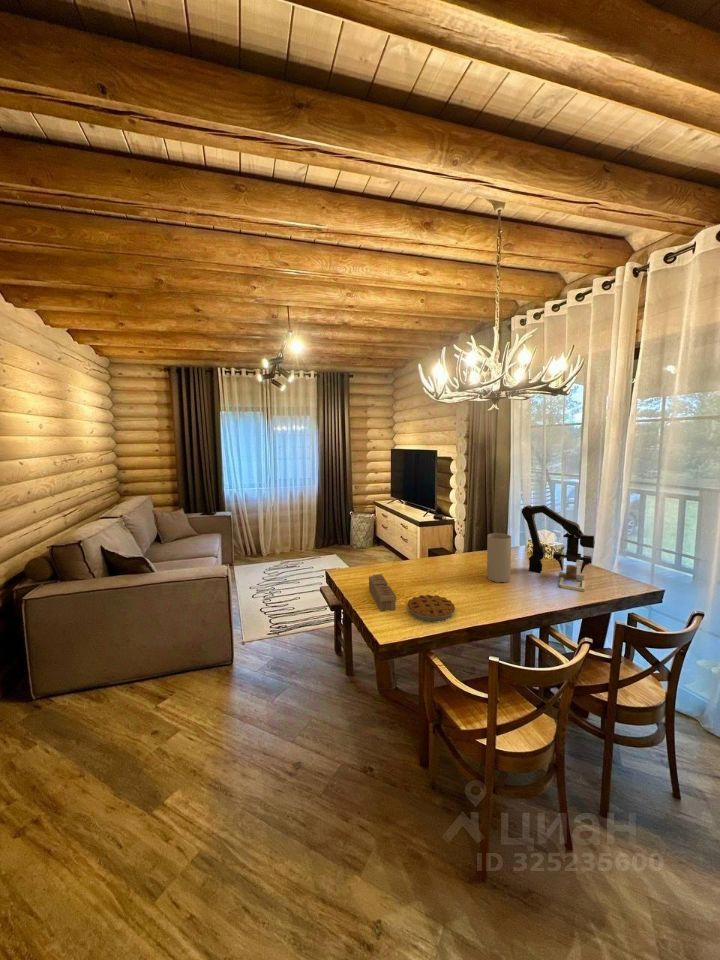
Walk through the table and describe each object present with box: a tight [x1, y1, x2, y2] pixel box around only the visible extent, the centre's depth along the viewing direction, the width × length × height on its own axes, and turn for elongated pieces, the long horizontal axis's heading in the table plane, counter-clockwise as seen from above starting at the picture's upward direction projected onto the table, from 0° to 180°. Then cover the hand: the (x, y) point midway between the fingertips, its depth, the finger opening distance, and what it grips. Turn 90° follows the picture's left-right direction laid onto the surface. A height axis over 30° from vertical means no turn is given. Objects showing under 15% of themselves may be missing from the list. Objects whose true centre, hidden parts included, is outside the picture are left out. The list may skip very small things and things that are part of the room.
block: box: [565, 564, 578, 579], centre depth 210 cm, size 5×5×6 cm
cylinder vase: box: [486, 532, 512, 583], centre depth 208 cm, size 12×12×25 cm
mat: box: [558, 571, 585, 583], centre depth 210 cm, size 12×10×1 cm
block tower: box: [368, 573, 397, 612], centre depth 187 cm, size 8×8×29 cm
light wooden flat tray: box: [558, 577, 586, 592], centre depth 199 cm, size 11×13×2 cm
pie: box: [406, 594, 456, 623], centre depth 172 cm, size 22×22×5 cm
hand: (571, 572), depth 210 cm, fingers open, 9 cm apart
